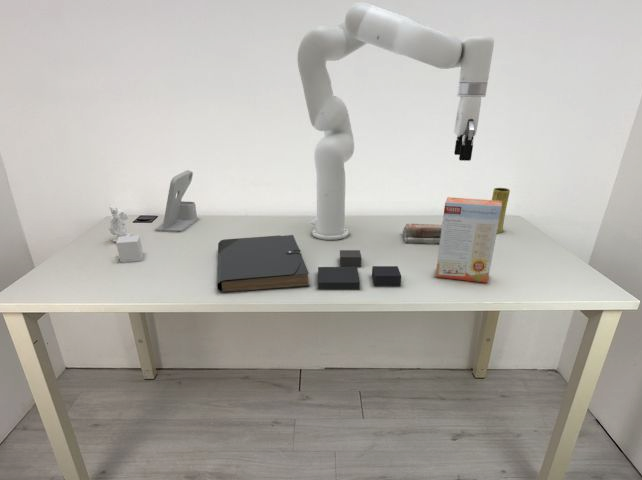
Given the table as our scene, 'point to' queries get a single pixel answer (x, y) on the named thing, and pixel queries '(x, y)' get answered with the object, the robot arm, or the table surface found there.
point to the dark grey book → (260, 264)
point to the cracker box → (468, 238)
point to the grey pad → (350, 258)
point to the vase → (503, 196)
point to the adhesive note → (129, 248)
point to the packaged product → (422, 233)
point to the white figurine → (118, 222)
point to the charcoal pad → (386, 276)
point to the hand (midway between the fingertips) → (462, 157)
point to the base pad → (338, 278)
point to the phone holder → (179, 205)
